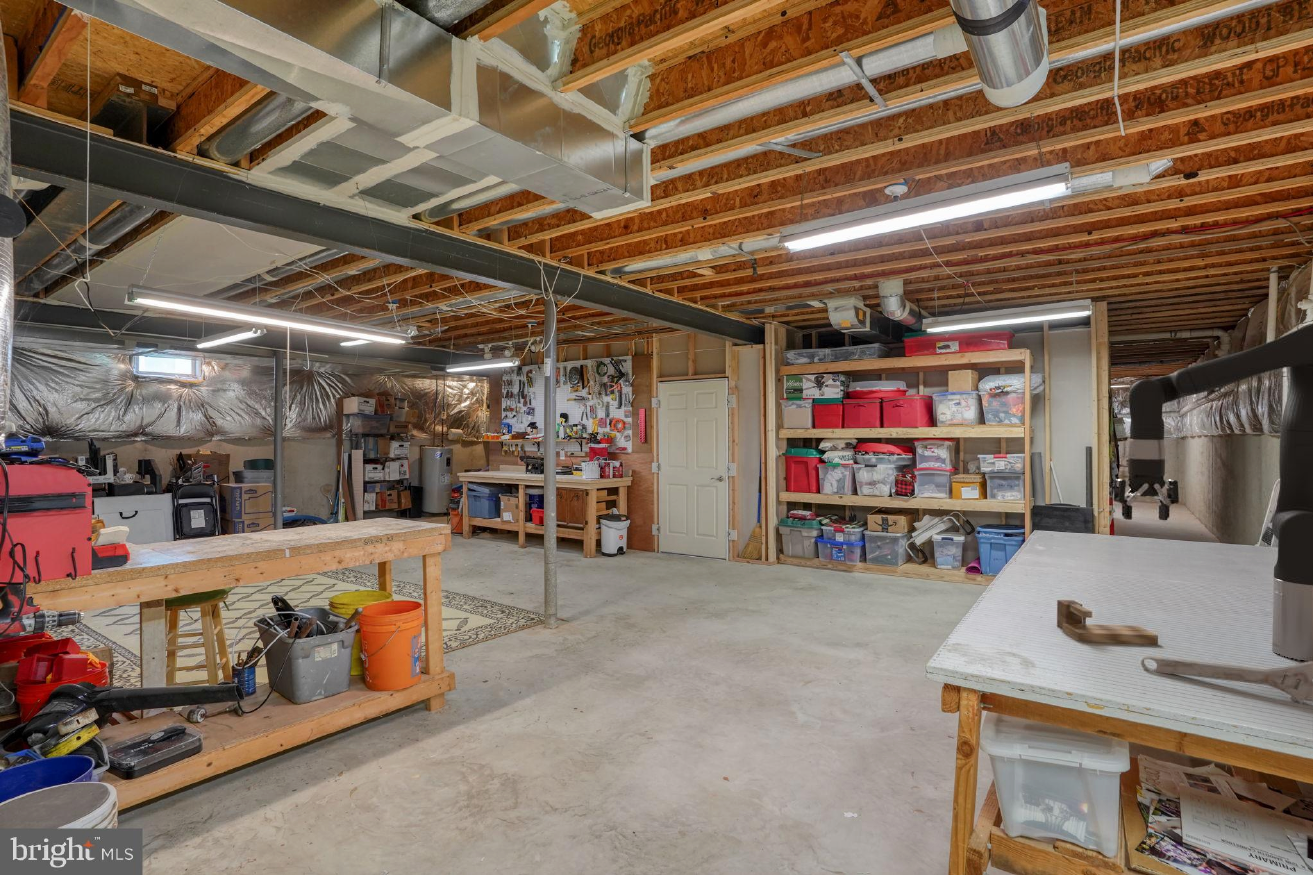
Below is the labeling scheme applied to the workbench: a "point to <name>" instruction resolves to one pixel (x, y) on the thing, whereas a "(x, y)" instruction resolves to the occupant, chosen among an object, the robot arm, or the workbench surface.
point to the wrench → (1244, 674)
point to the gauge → (1071, 613)
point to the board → (1110, 634)
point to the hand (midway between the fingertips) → (1145, 519)
